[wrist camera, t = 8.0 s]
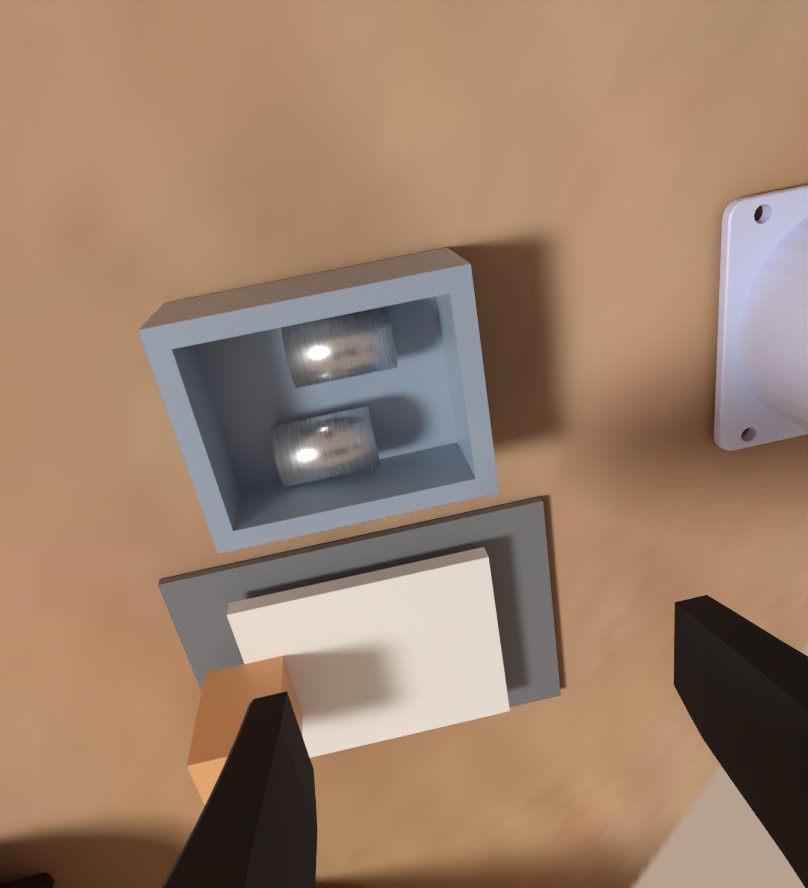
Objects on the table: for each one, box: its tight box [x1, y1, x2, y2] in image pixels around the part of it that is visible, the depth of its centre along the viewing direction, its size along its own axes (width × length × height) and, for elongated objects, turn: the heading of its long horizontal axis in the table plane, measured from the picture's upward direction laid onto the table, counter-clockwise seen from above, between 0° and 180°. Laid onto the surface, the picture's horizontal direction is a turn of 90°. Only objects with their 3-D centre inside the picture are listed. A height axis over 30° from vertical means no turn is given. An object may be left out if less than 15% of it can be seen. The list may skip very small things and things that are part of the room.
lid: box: [187, 547, 510, 805], centre depth 21 cm, size 10×7×5 cm
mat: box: [158, 497, 561, 707], centre depth 23 cm, size 13×9×1 cm
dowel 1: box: [281, 306, 398, 389], centre depth 18 cm, size 3×2×2 cm, turn 100°
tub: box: [138, 247, 499, 554], centre depth 18 cm, size 8×6×3 cm
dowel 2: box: [271, 406, 381, 487], centre depth 19 cm, size 3×2×2 cm, turn 100°
